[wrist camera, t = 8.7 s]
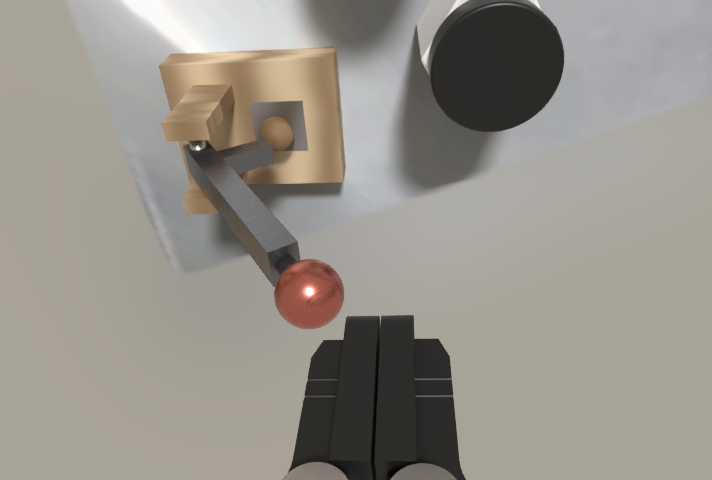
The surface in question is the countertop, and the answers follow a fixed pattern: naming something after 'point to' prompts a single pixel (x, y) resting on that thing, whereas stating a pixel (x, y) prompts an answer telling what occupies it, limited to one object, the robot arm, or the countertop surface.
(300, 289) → the lever
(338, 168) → the cracker base
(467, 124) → the jar
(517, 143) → the countertop surface
